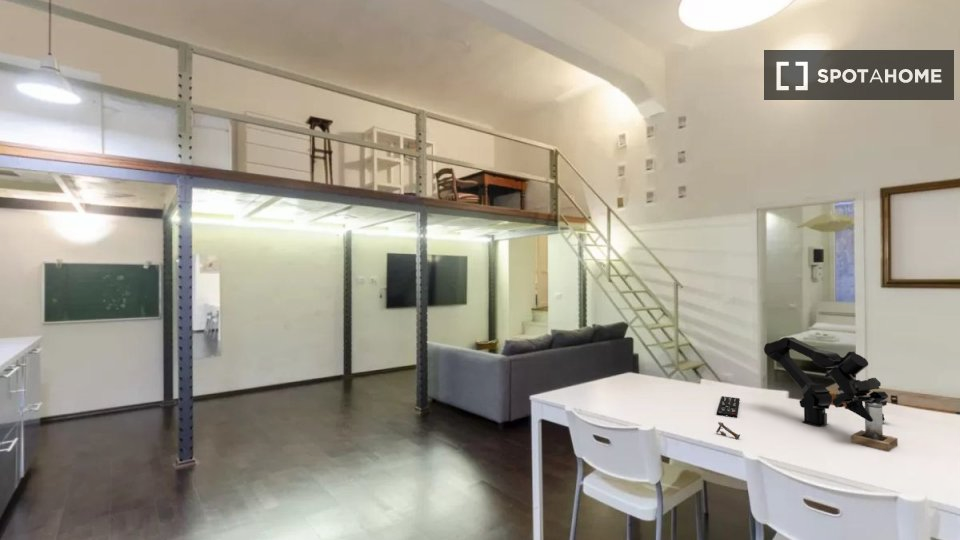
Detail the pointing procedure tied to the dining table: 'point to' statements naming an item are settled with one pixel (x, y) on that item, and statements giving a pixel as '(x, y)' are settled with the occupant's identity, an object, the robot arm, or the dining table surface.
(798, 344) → the robot arm
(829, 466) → the dining table surface
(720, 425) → the wooden post with brackets
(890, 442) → the frame
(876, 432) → the metal canister
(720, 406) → the remote control
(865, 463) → the dining table surface
